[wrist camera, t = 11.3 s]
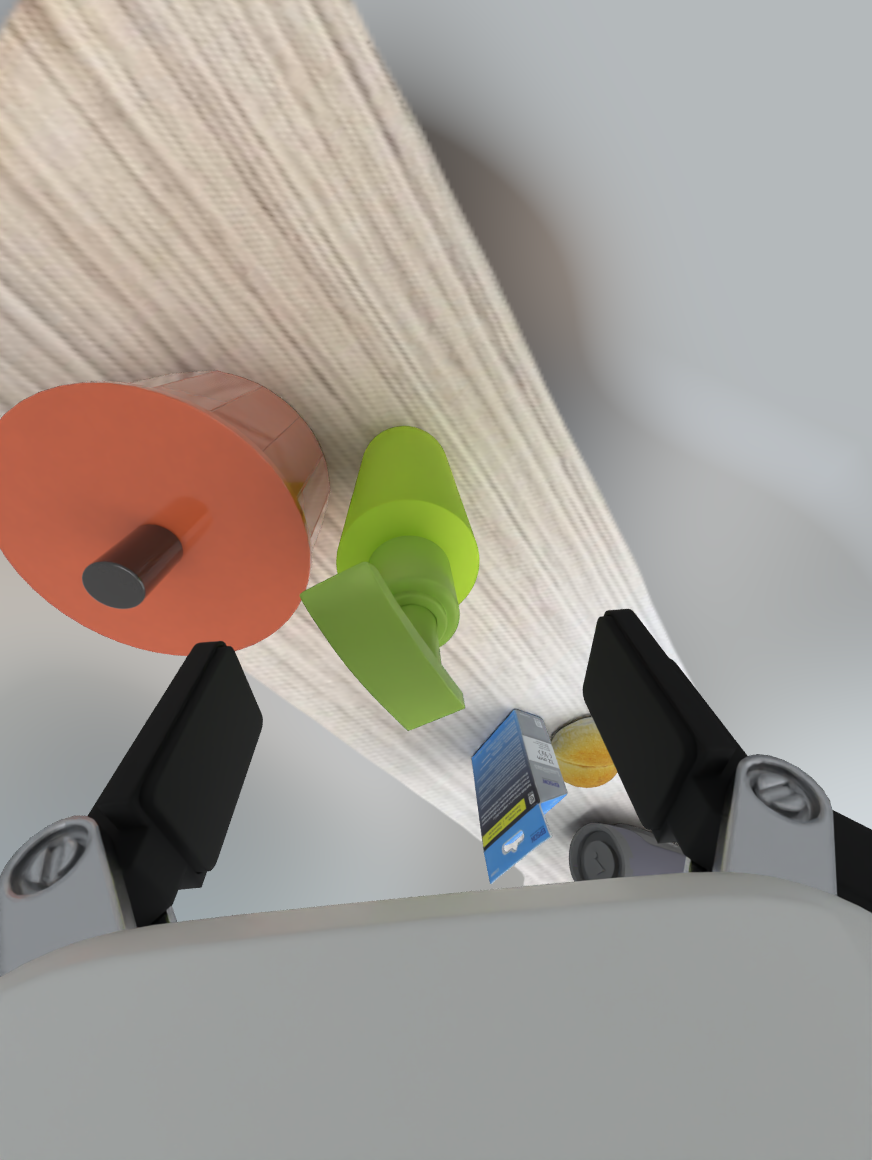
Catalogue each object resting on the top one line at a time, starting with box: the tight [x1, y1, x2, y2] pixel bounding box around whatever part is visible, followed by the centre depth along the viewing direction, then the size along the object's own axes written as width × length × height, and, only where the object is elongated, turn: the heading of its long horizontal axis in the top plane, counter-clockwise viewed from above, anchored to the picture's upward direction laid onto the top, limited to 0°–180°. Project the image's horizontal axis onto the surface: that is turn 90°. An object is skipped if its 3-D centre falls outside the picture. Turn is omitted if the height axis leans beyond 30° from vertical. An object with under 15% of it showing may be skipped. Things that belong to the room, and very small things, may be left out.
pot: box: [131, 371, 330, 550], centre depth 23 cm, size 13×13×10 cm
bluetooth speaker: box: [569, 823, 686, 882], centre depth 54 cm, size 23×9×10 cm, turn 56°
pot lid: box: [0, 381, 312, 656], centre depth 18 cm, size 14×14×5 cm
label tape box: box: [472, 709, 568, 884], centre depth 39 cm, size 9×4×12 cm, turn 152°
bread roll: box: [551, 717, 617, 788], centre depth 44 cm, size 8×9×4 cm
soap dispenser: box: [300, 426, 479, 731], centre depth 19 cm, size 6×7×20 cm
